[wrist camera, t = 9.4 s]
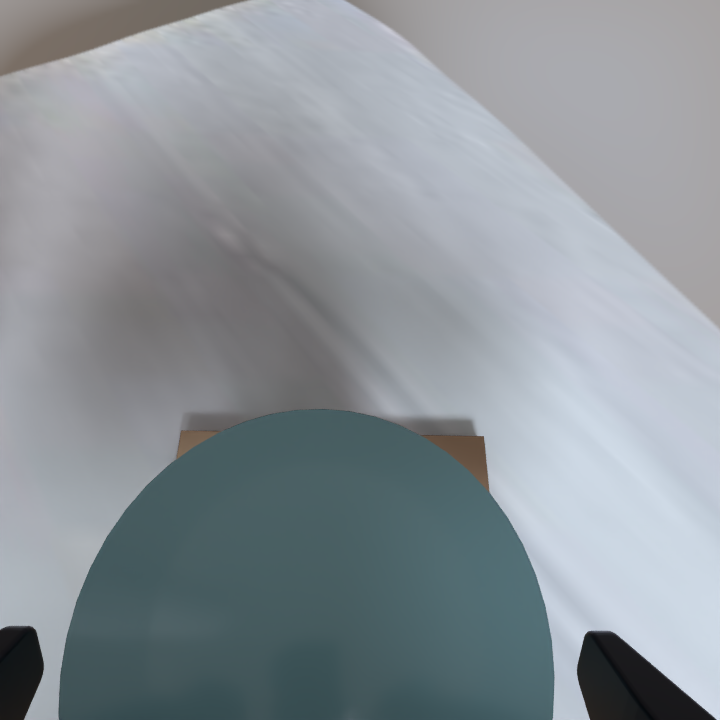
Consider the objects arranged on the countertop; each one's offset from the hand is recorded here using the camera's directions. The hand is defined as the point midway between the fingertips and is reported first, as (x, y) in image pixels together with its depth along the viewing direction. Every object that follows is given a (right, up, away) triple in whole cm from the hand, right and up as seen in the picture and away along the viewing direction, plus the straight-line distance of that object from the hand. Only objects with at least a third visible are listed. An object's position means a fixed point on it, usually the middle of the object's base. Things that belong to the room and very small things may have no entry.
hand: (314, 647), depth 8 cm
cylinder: (0, -4, +9) cm, 10 cm away
